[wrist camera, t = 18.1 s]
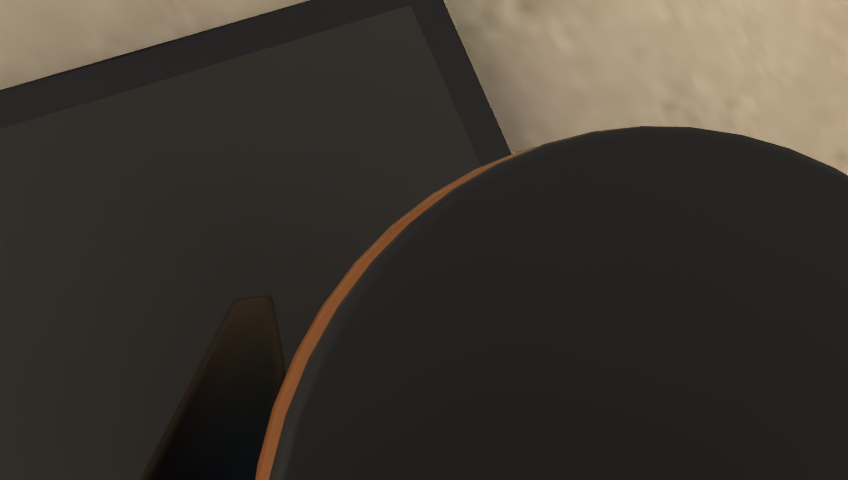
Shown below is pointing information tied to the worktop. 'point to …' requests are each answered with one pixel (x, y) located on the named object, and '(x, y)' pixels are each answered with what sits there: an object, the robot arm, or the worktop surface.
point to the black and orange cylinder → (588, 323)
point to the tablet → (206, 207)
